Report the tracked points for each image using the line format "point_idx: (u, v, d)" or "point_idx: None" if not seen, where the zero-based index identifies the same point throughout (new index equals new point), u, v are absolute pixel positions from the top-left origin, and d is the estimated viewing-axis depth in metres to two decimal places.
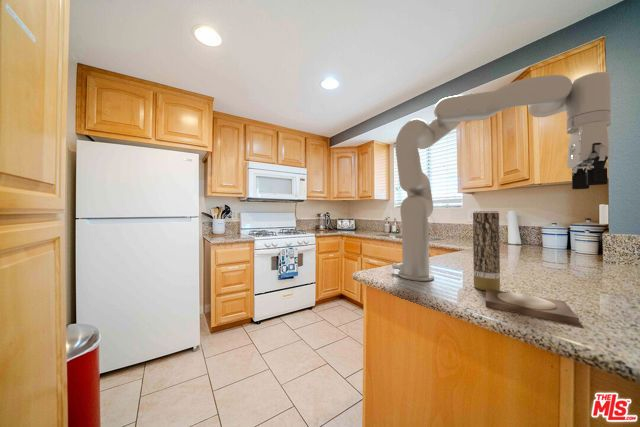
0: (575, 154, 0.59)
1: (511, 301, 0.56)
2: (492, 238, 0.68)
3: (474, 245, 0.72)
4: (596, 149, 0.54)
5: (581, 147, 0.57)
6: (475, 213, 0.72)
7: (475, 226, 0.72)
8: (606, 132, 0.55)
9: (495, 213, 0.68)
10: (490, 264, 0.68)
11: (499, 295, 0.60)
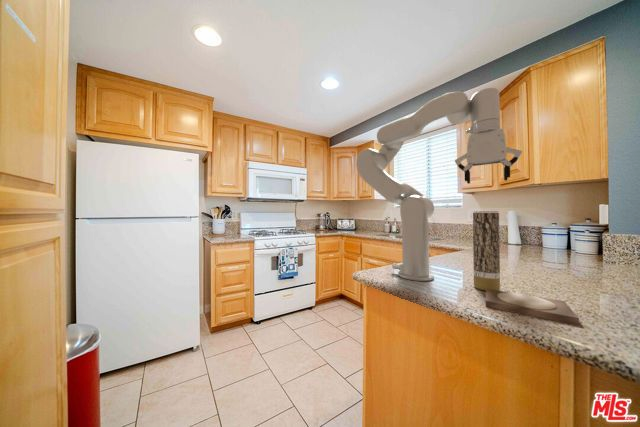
0: (493, 151, 0.68)
1: (511, 301, 0.56)
2: (492, 238, 0.68)
3: (474, 245, 0.72)
4: (513, 151, 0.67)
5: (504, 146, 0.67)
6: (475, 213, 0.72)
7: (475, 226, 0.72)
8: None
9: (495, 213, 0.68)
10: (490, 264, 0.68)
11: (499, 295, 0.60)
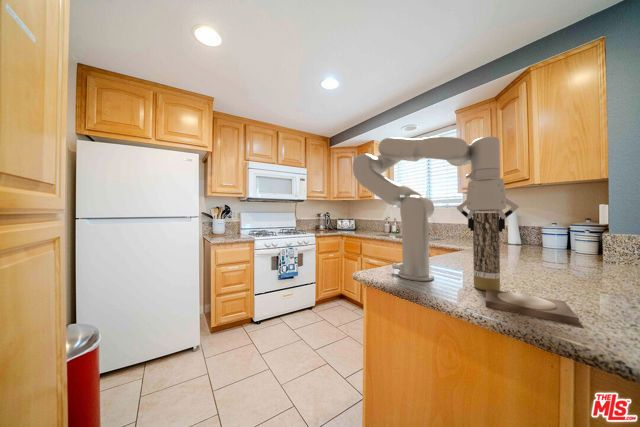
0: (493, 201, 0.68)
1: (511, 301, 0.56)
2: (492, 238, 0.68)
3: (474, 245, 0.72)
4: (510, 204, 0.68)
5: (504, 197, 0.67)
6: (475, 213, 0.72)
7: (475, 226, 0.72)
8: None
9: (495, 213, 0.68)
10: (490, 264, 0.68)
11: (499, 295, 0.60)
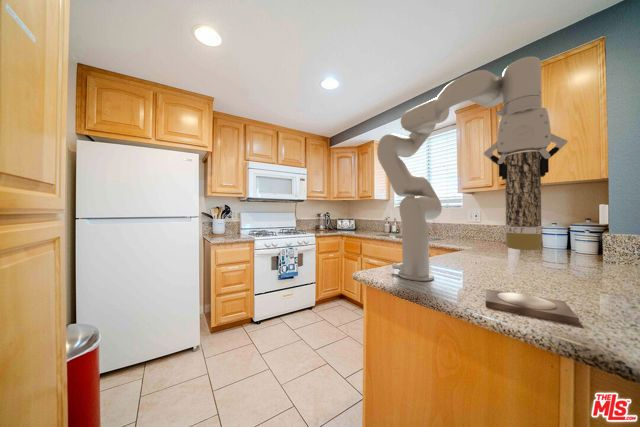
0: (534, 137, 0.54)
1: (511, 301, 0.56)
2: (533, 183, 0.54)
3: (507, 195, 0.58)
4: (556, 139, 0.54)
5: (549, 130, 0.53)
6: (509, 155, 0.58)
7: (509, 171, 0.58)
8: None
9: (536, 152, 0.54)
10: (530, 216, 0.54)
11: (499, 295, 0.60)
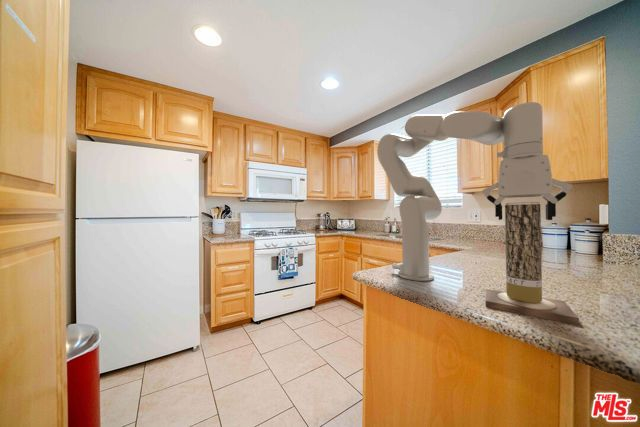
0: (535, 183, 0.54)
1: (511, 301, 0.56)
2: (533, 236, 0.54)
3: (507, 245, 0.58)
4: (560, 184, 0.53)
5: (550, 178, 0.53)
6: (509, 205, 0.58)
7: (509, 221, 0.57)
8: None
9: (536, 205, 0.54)
10: (530, 269, 0.54)
11: (499, 295, 0.60)
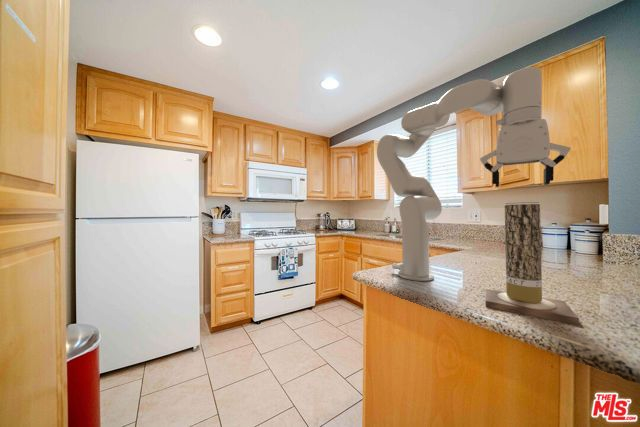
0: (533, 148, 0.54)
1: (511, 301, 0.56)
2: (533, 236, 0.54)
3: (507, 245, 0.58)
4: (558, 148, 0.53)
5: (548, 142, 0.53)
6: (509, 205, 0.58)
7: (509, 221, 0.57)
8: None
9: (536, 205, 0.54)
10: (530, 269, 0.54)
11: (499, 295, 0.60)
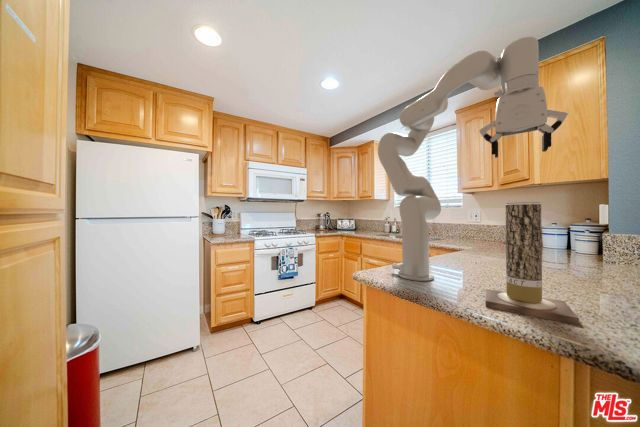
0: (531, 115, 0.56)
1: (511, 301, 0.56)
2: (534, 236, 0.54)
3: (508, 245, 0.58)
4: (555, 114, 0.54)
5: (545, 108, 0.54)
6: (510, 205, 0.57)
7: (510, 221, 0.57)
8: None
9: (537, 205, 0.54)
10: (530, 269, 0.54)
11: (499, 295, 0.60)
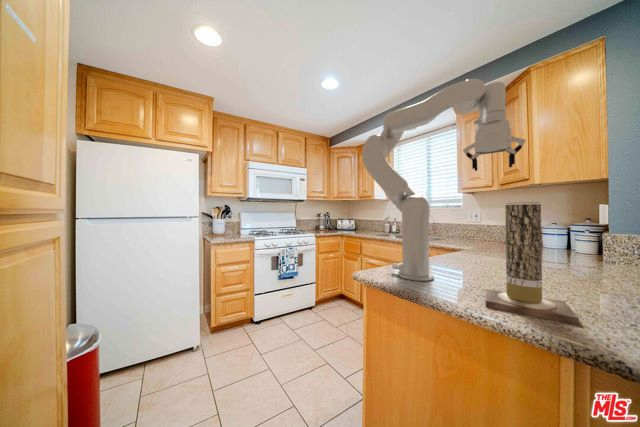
0: (499, 140, 0.75)
1: (511, 301, 0.56)
2: (533, 236, 0.54)
3: (508, 245, 0.58)
4: (517, 140, 0.73)
5: (510, 136, 0.73)
6: (509, 205, 0.57)
7: (509, 221, 0.57)
8: None
9: (537, 205, 0.54)
10: (530, 269, 0.54)
11: (499, 295, 0.60)
